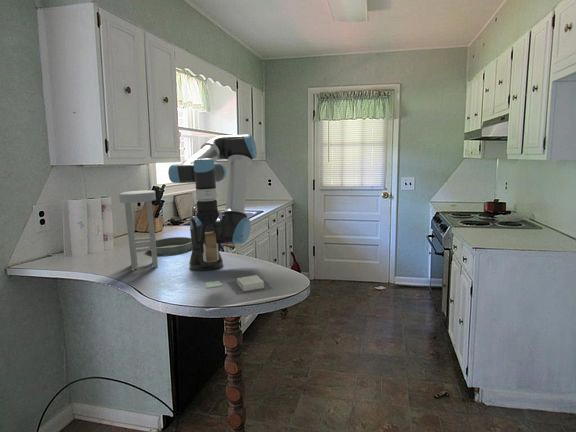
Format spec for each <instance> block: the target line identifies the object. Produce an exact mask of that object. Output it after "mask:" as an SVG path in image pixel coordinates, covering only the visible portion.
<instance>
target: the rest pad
mask: <svg viewBox="0 0 576 432" xmlns="http://www.w3.org/2000/svg"><path fill="white" fill-rule="evenodd" d="M203 284H204V286H205V288H206V290H207V289H214V288H220V287H223V283H222V282H221V281H220V280H215V281H207V282H204V283H203Z"/></svg>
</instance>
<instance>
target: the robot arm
mask: <svg viewBox="0 0 576 432" xmlns="http://www.w3.org/2000/svg"><path fill="white" fill-rule="evenodd" d="M257 154H258V153H257V145H256V141H255V138H254V136H253V135H252V134H244V133H243V134H229V135H219V136H218V135H217V136H215V137H214V138H211V139H209V140H207V141H205V143H203V144H202V145H201V146H200V149H199V150H198V151H196V152H195V153H193V154H192V155H190V156H189V157H188V158H187V159H186V160H184V161H183V162H182V163H179V164H178V163H176V164H171V165H169V167H168V170H167V171H168V177H169V181H170V182H171V183H174V184H186V183H187V184H190V183H192V184H193V183H195V195H196V196H195V197H196V200H197V201H196V206H197V208H196V209H197V210H196V211H197V212H196V216H194V217H190V218H189V220H190V222H189V231H190V238H191V243H192V247H191V254H190V259H189V262H188V263H189V264H188V265H189V269H190V270H192V271H200V272H201V271H202V272H203V271H212V270H217V269H219V268H221V267H223V265H224V260H223V257H222V255H221V252H220V251H221V250H222V248H221V247H222V245H221V244H228V245H241V244H246V242H247V241H248V240H249V238H250V233H251V229H252V228H251V227H252V226H251V220H250V218H248V215H247V213H246V212H245V205H246V195H247V184H248V172H249V166H251V165H252V164H253V163H252V162H253V160H255V159H257V156H258V155H257ZM223 160H226V161H227V163H228V164H230V165H229V172H228V173H229V174H228V183H227V192H226V193H227V194H226V200H225V201H226V202H225V210H224V211H223V212H221V214H220V212H219V210H218V209H219V208H218V200H217V184H216V182H217V183H219V182H220V181H222V180H224V179H225V178H226V175H227V168H226V166H225V165H224V164H222V163H220V162H217V161H223ZM212 231H214V232H215V233H216V247H217V261H215V262H208V263H207V259H206V246H205V244H204V236H205V232H212Z"/></svg>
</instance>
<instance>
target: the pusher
mask: <svg viewBox="0 0 576 432" xmlns="http://www.w3.org/2000/svg"><path fill="white" fill-rule="evenodd" d="M204 244H205V246H206V259H207V263H208V262H215V261H217V247H216V233H215V232H214V231H212V232H205V236H204Z"/></svg>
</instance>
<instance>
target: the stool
mask: <svg viewBox="0 0 576 432" xmlns="http://www.w3.org/2000/svg"><path fill="white" fill-rule="evenodd" d="M156 196H157V195H156V190H151V189H150V190H148V189H147V190H144V189H143V190H132V191H123V192H121V193H119V203H122V204H124V210H125V218H126V219H125V220H126V221H125V222H126V226H127V227H126V228H127V229H126V230H127V236H128V246H129V247H128V248H129V255H130V265H131V270H132V269H137V270H138V265H137V264H138V262H139V261H138V253H139V252H140V253H141V252H149V251H150V252H151V261H152V268H153V267H156V268H159V265H158V254H157V251H156V241H155V240H156V232H155V223H154V222H155V221H154V214H153V213H154V212H153V205H152V203H153V202H152V201H156V200H157V197H156ZM134 203H135V204H137V203H146V211H147V220H148V221H147V222H148V232H149V237H142V238H141V237H140V238H139V237H138V238H136V236H135V227H134V226H135V225H134V217H133V207H132V204H134ZM150 246H151V248H149V247H150Z"/></svg>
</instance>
